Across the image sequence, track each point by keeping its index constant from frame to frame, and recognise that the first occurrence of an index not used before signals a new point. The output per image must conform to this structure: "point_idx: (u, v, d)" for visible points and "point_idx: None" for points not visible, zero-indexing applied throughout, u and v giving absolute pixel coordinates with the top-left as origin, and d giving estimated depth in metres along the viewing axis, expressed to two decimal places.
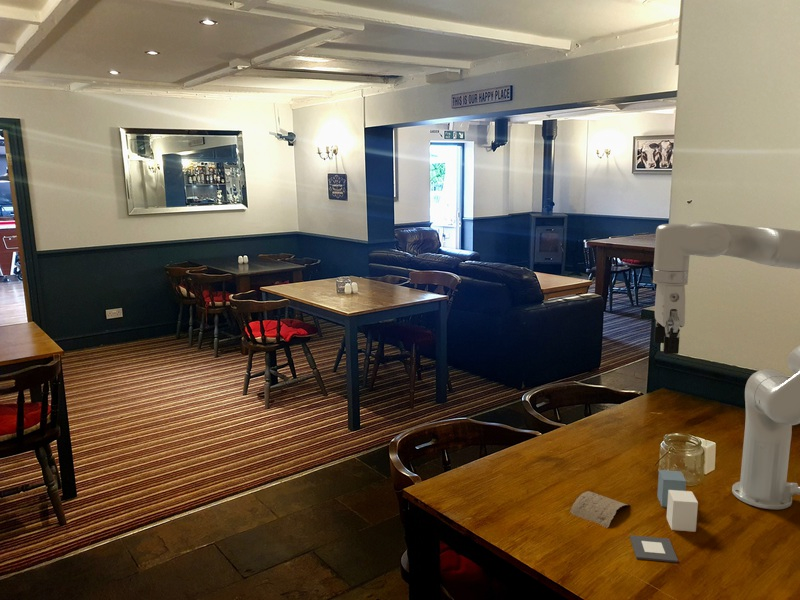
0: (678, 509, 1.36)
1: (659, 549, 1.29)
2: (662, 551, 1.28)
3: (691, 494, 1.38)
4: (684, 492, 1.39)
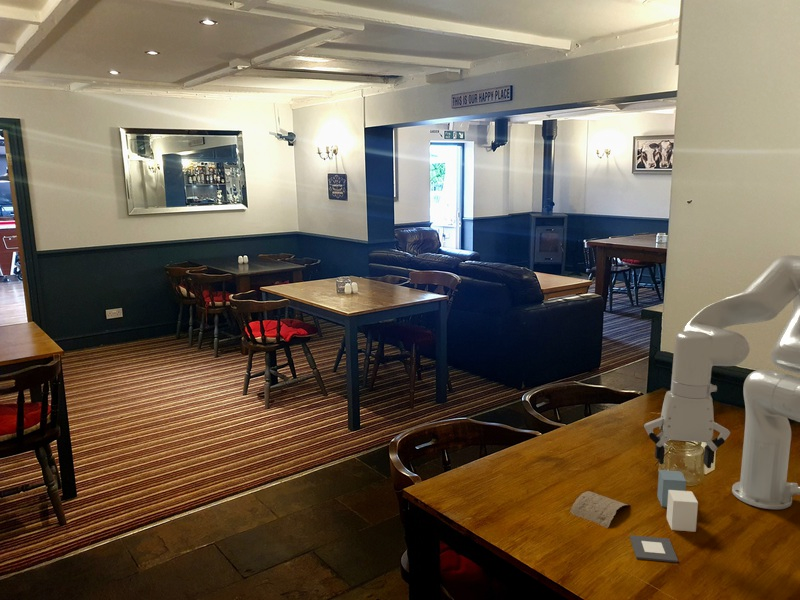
0: (678, 509, 1.36)
1: (659, 549, 1.29)
2: (662, 551, 1.28)
3: (691, 494, 1.38)
4: (684, 492, 1.39)
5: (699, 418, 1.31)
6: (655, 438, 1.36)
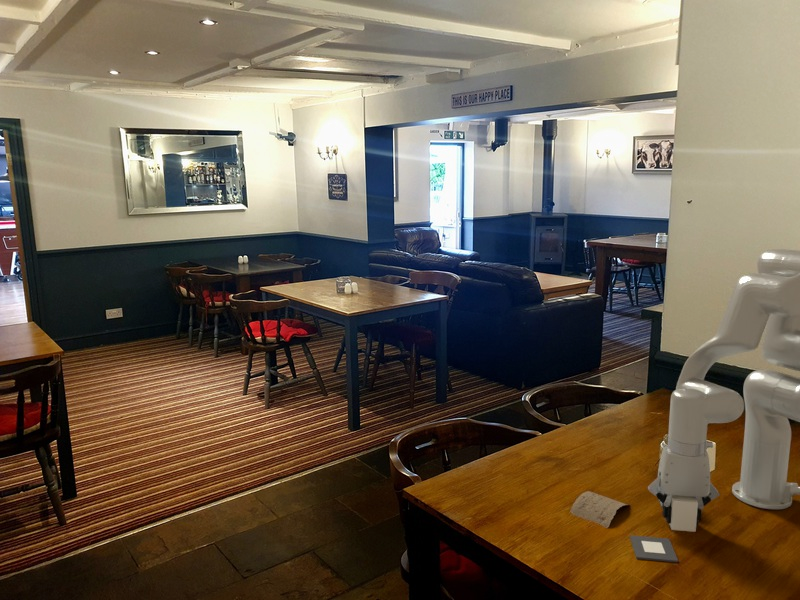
0: (678, 509, 1.36)
1: (659, 549, 1.29)
2: (662, 551, 1.28)
3: None
4: None
5: (696, 474, 1.34)
6: (662, 498, 1.38)
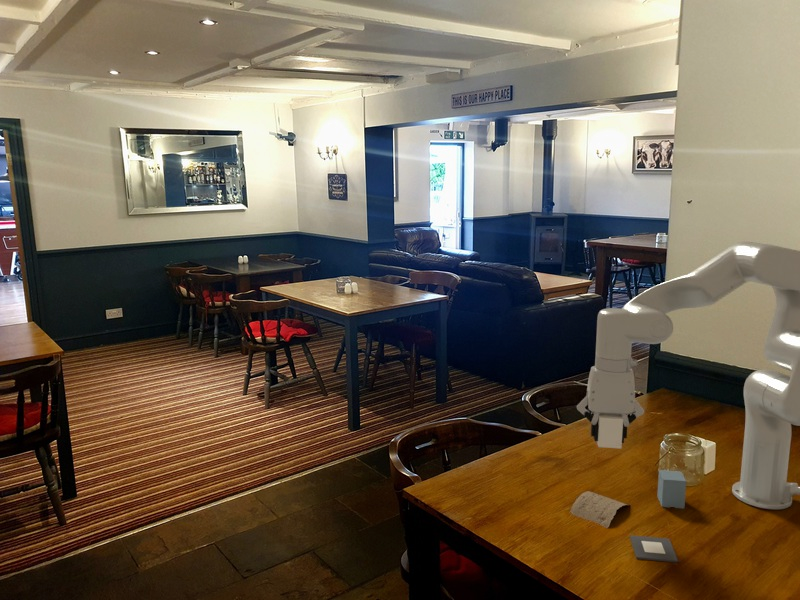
0: (604, 426, 1.39)
1: (659, 549, 1.29)
2: (662, 551, 1.28)
3: None
4: None
5: (621, 391, 1.37)
6: (590, 416, 1.41)
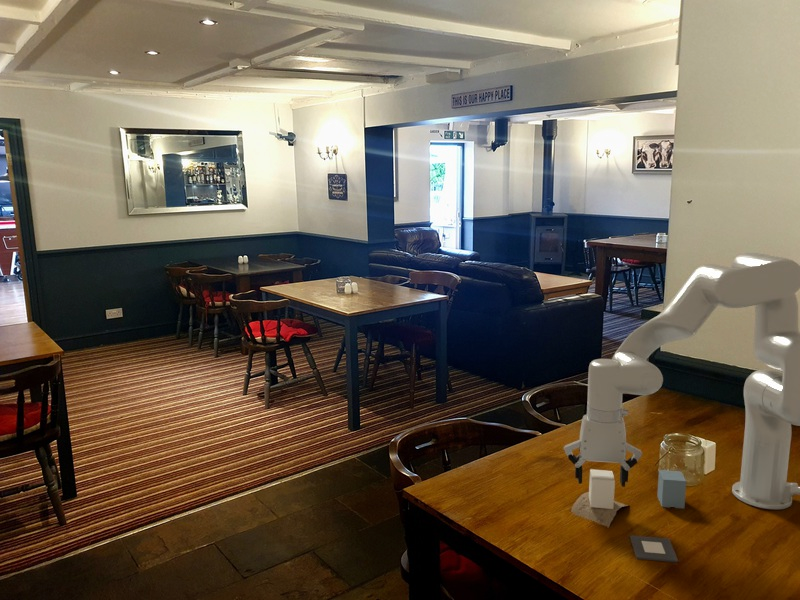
0: (596, 488, 1.42)
1: (659, 549, 1.29)
2: (662, 551, 1.28)
3: (611, 473, 1.45)
4: (604, 471, 1.46)
5: (612, 441, 1.40)
6: (574, 459, 1.44)
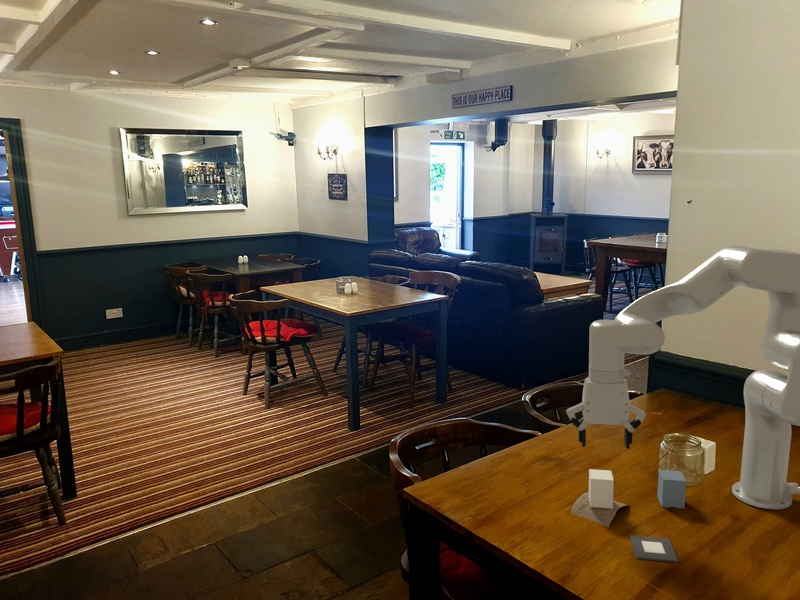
0: (595, 487, 1.43)
1: (659, 549, 1.29)
2: (662, 551, 1.28)
3: (609, 473, 1.45)
4: (603, 471, 1.46)
5: (615, 402, 1.38)
6: (576, 422, 1.43)
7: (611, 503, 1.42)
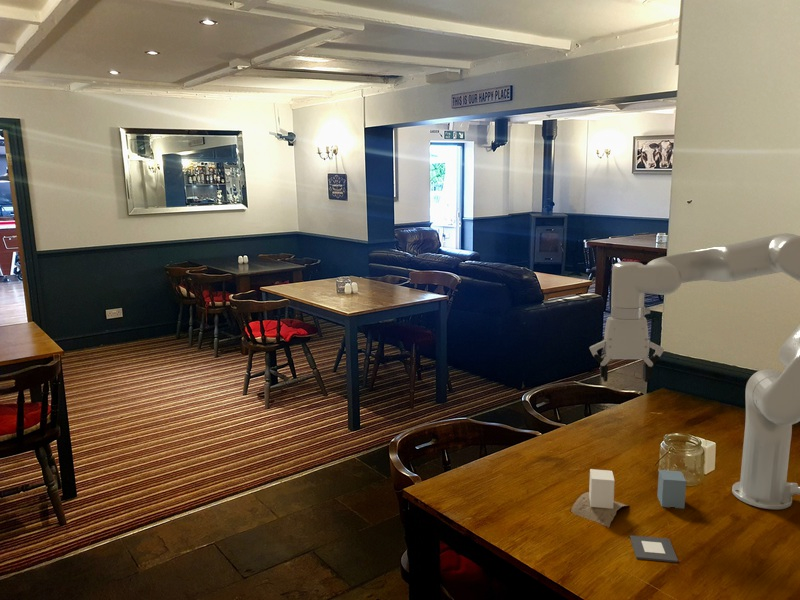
0: (596, 487, 1.43)
1: (659, 549, 1.29)
2: (662, 551, 1.28)
3: (610, 473, 1.45)
4: (604, 471, 1.46)
5: (636, 337, 1.49)
6: (599, 358, 1.53)
7: (611, 503, 1.43)
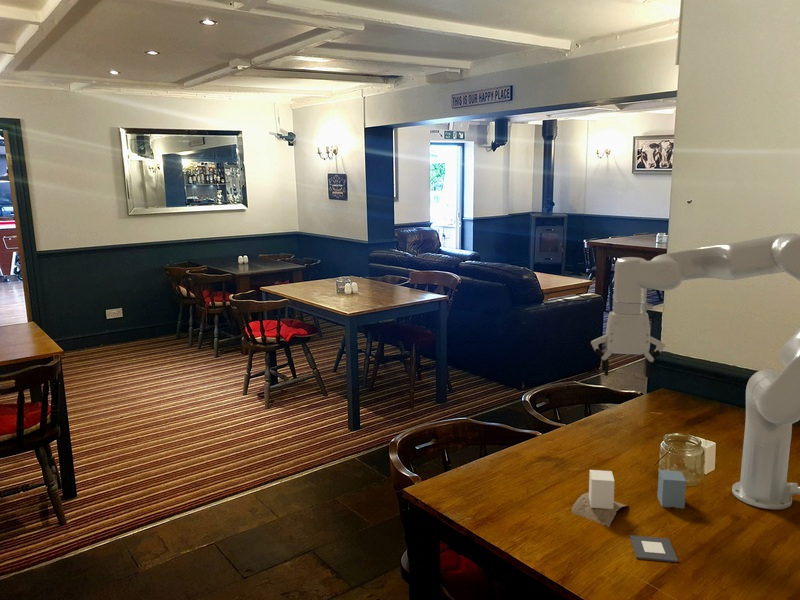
0: (596, 488, 1.43)
1: (659, 549, 1.29)
2: (662, 551, 1.28)
3: (610, 473, 1.45)
4: (604, 472, 1.46)
5: (637, 332, 1.50)
6: (600, 353, 1.54)
7: (612, 504, 1.43)
